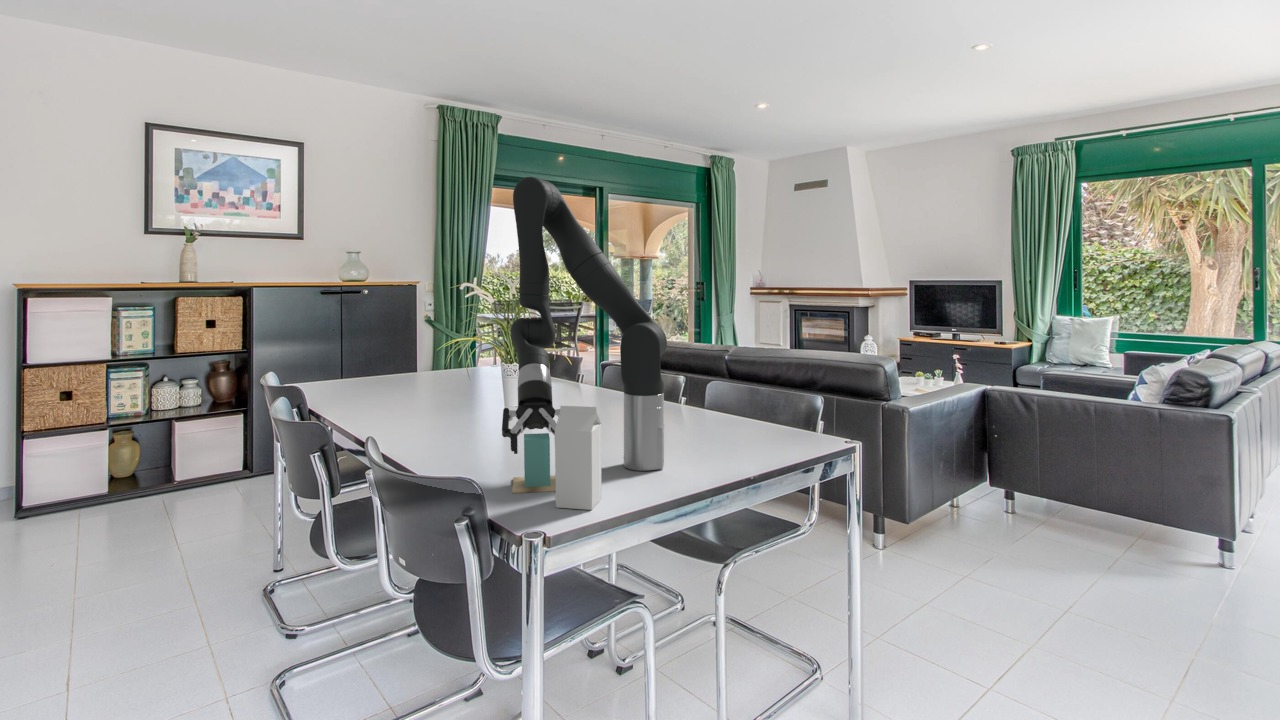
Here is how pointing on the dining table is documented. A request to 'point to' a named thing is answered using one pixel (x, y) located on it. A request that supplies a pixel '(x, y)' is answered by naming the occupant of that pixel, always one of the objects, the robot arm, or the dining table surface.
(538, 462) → the tall teal foam brick
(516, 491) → the post
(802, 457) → the dining table surface
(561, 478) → the milk carton
